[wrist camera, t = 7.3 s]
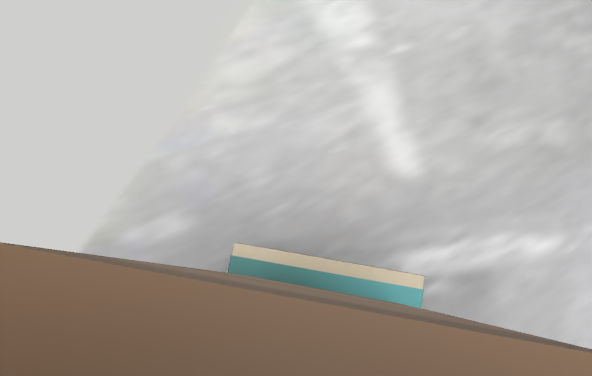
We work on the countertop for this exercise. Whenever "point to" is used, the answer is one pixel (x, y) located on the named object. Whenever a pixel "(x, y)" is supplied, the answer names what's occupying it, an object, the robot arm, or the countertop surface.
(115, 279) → the column
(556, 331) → the countertop surface
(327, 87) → the countertop surface
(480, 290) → the countertop surface
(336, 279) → the seesaw beam
